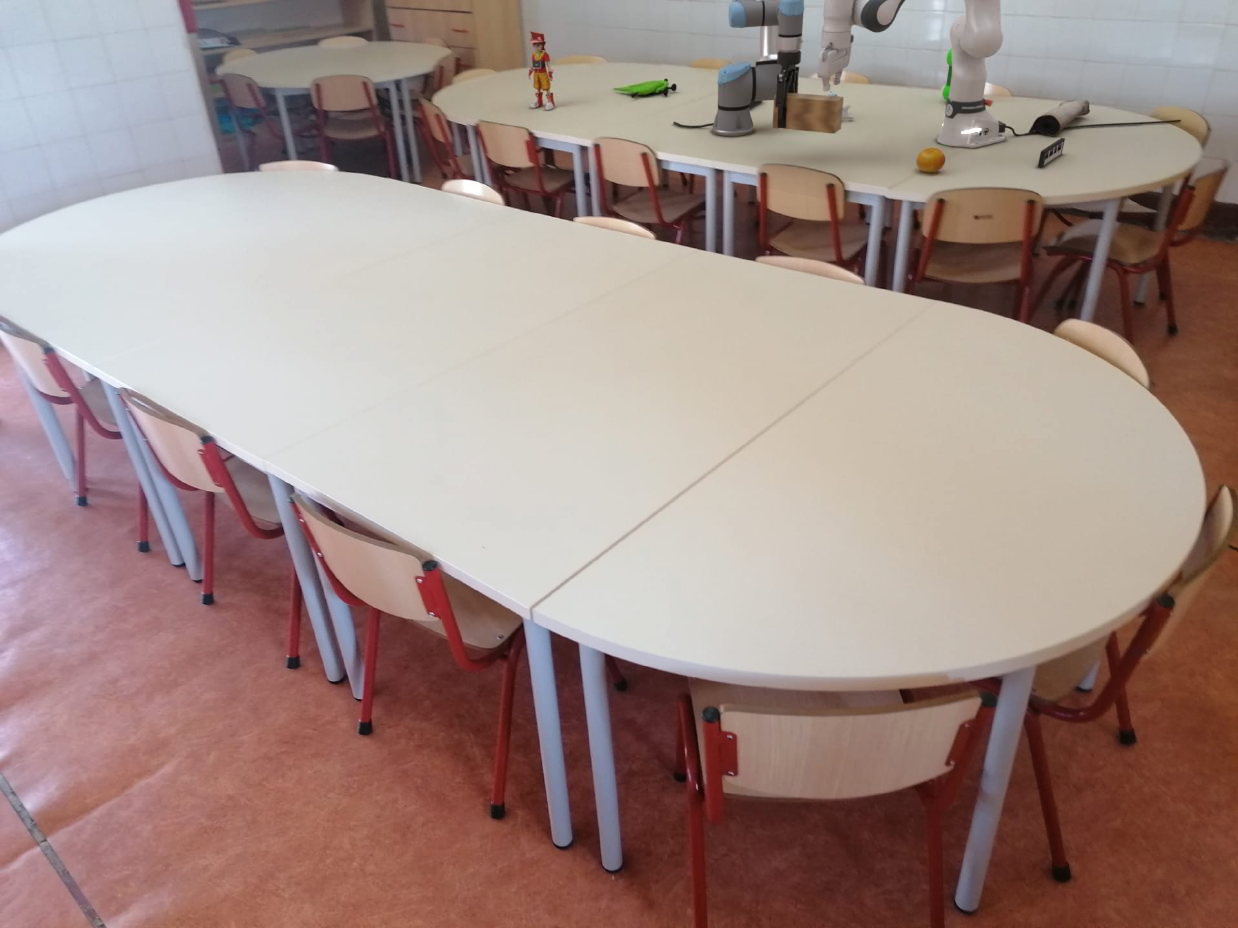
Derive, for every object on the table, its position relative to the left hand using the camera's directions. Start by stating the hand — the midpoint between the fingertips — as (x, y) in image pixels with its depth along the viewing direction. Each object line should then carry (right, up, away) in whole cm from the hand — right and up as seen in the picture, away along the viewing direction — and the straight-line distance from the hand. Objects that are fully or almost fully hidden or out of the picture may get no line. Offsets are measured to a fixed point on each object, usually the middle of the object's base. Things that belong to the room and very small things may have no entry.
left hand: (785, 125), depth 300 cm
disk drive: (-5, +33, +67) cm, 75 cm away
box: (+6, -2, -3) cm, 7 cm away
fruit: (+43, -21, -15) cm, 50 cm away
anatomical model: (+28, +20, +45) cm, 56 cm away
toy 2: (-46, +51, +97) cm, 119 cm away
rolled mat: (+102, +7, +20) cm, 104 cm away
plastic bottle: (+77, +30, +54) cm, 99 cm away
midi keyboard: (+83, -16, -12) cm, 85 cm away
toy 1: (-89, +39, +83) cm, 127 cm away
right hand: (+12, +7, -14) cm, 20 cm away
